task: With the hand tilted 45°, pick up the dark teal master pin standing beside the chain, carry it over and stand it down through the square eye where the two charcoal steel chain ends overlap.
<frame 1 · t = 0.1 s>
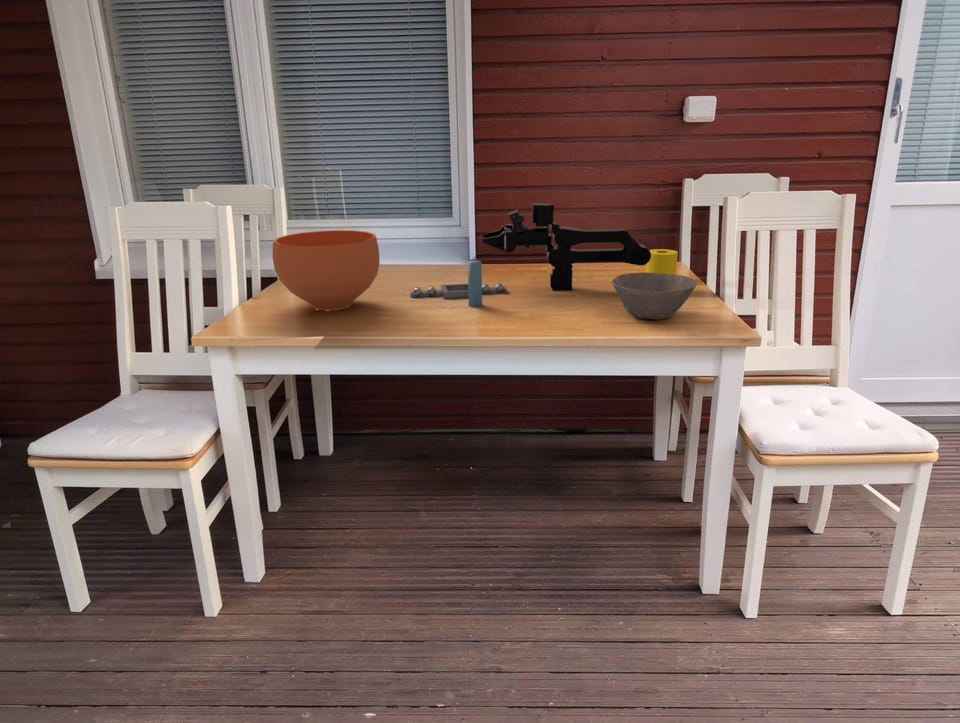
hand: (482, 238, 207), 17 cm above the table, tool horizontal, fingers open, 9 cm apart
ceramic bowl: (651, 317, 179), on the table
master pin: (475, 305, 194), on the table
tape roll: (660, 280, 221), on the table
flowerpot: (332, 306, 196), on the table
chain ends: (458, 293, 207), on the table
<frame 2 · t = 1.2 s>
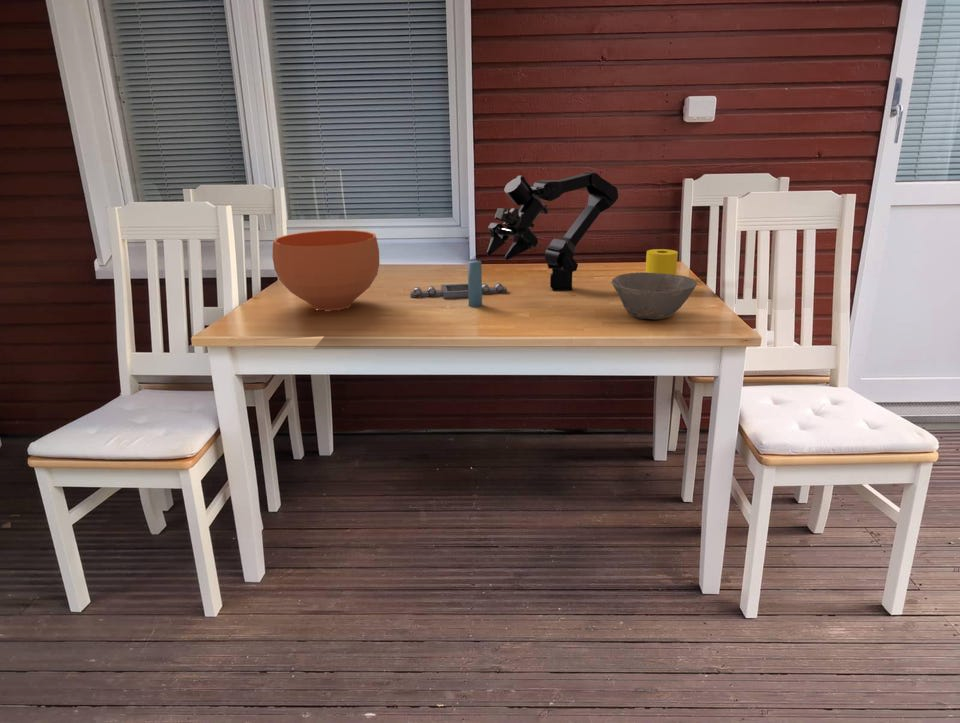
hand: (496, 256, 193), 13 cm above the table, tool tilted 45°, fingers open, 9 cm apart
nothing on the table moved.
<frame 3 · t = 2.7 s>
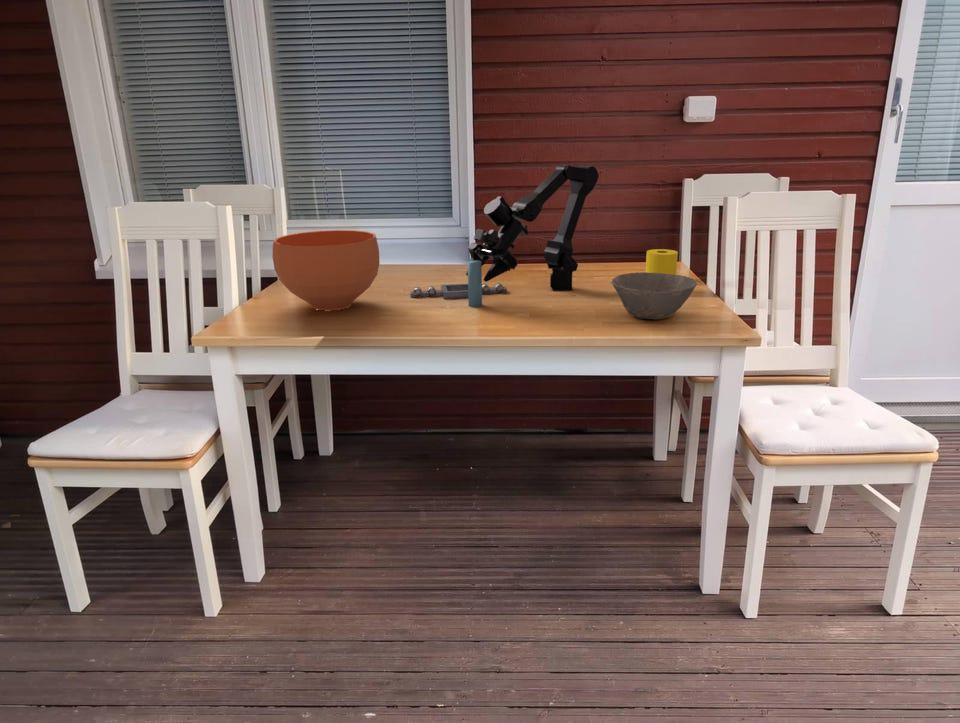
hand: (475, 278, 191), 8 cm above the table, tool tilted 45°, fingers open, 9 cm apart
nothing on the table moved.
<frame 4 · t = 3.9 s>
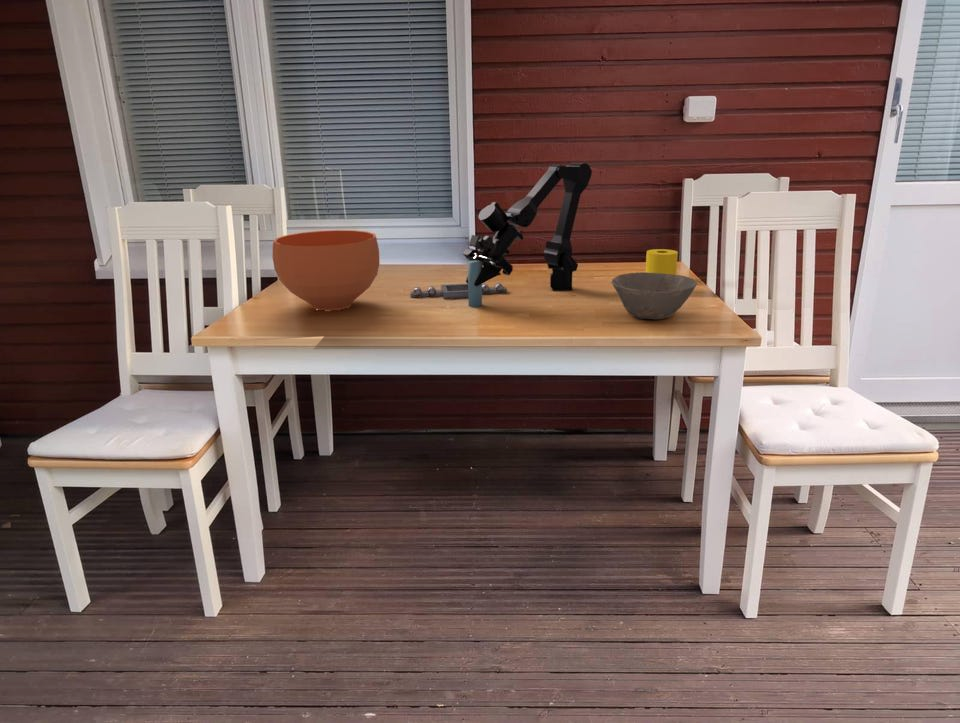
hand: (470, 284, 191), 7 cm above the table, tool tilted 45°, fingers closed on master pin, 4 cm apart
master pin: (475, 305, 194), on the table, touching gripper
everything else where it was.
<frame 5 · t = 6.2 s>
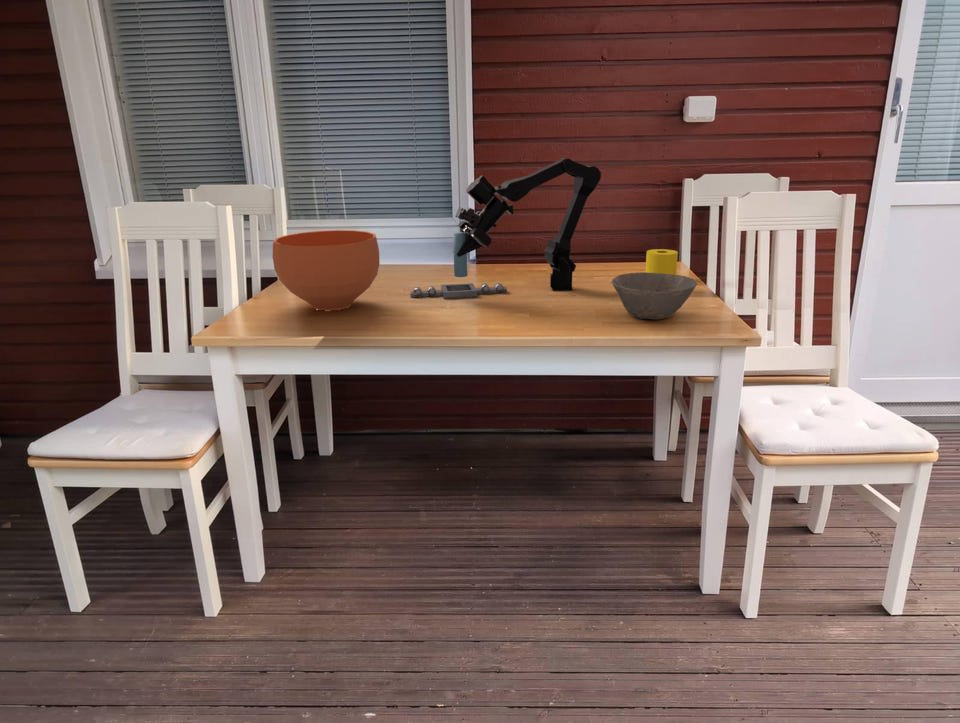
hand: (455, 254, 198), 14 cm above the table, tool tilted 45°, fingers closed on master pin, 4 cm apart
master pin: (460, 275, 200), point 7 cm above the table, touching gripper
everything else where it was.
when the fingers open (8 cm above the table, at t = 8.3 s): master pin drops 1 cm, resting in chain ends.
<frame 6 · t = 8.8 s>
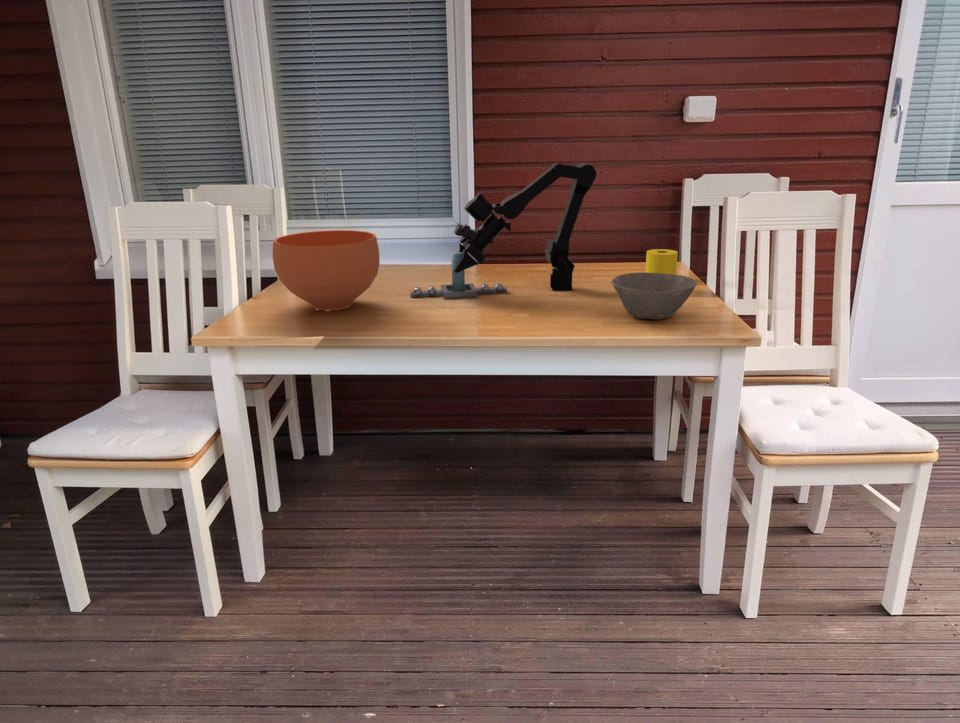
hand: (453, 269, 204), 8 cm above the table, tool tilted 45°, fingers open, 9 cm apart
master pin: (458, 294, 207), resting in chain ends
everything else where it was.
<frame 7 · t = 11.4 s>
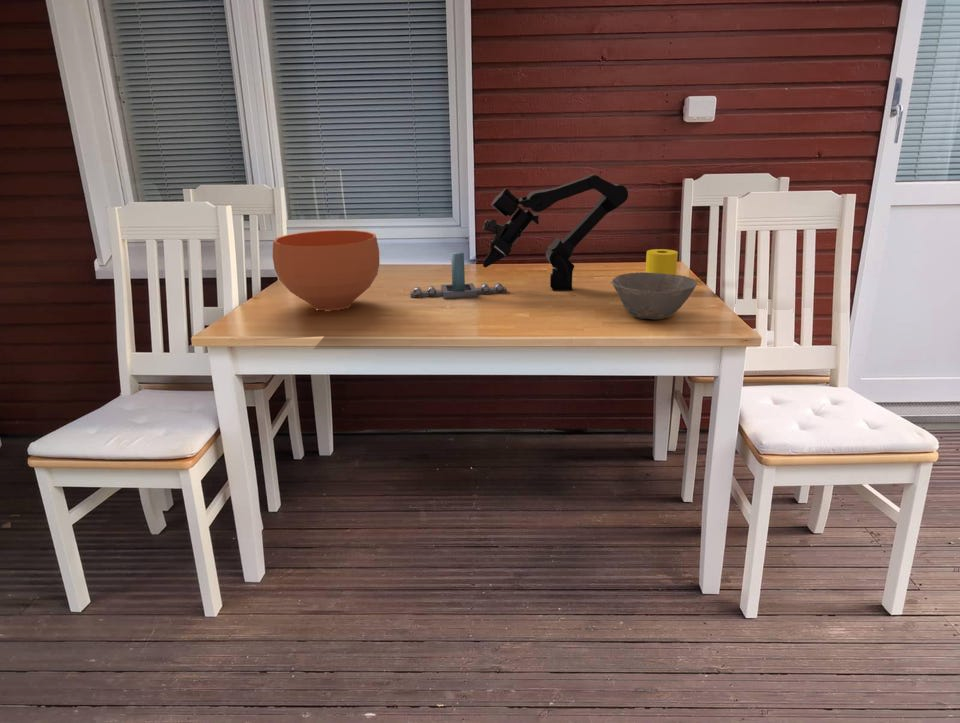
hand: (484, 265, 206), 9 cm above the table, tool tilted 40°, fingers open, 9 cm apart
nothing on the table moved.
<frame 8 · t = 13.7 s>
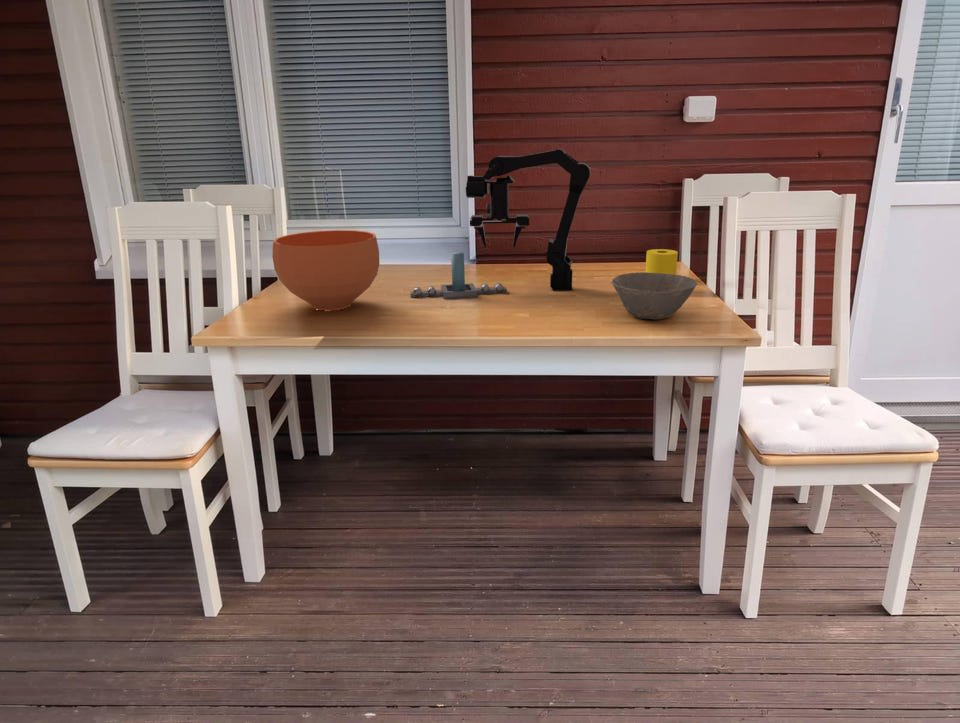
hand: (499, 247, 211), 13 cm above the table, tool pointing down, fingers open, 9 cm apart
nothing on the table moved.
at the end: master pin 0.0 cm off-centre on the chain ends, point 0.0 cm above the chain ends's base; master pin tilted 0°; the gripper is holding nothing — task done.
